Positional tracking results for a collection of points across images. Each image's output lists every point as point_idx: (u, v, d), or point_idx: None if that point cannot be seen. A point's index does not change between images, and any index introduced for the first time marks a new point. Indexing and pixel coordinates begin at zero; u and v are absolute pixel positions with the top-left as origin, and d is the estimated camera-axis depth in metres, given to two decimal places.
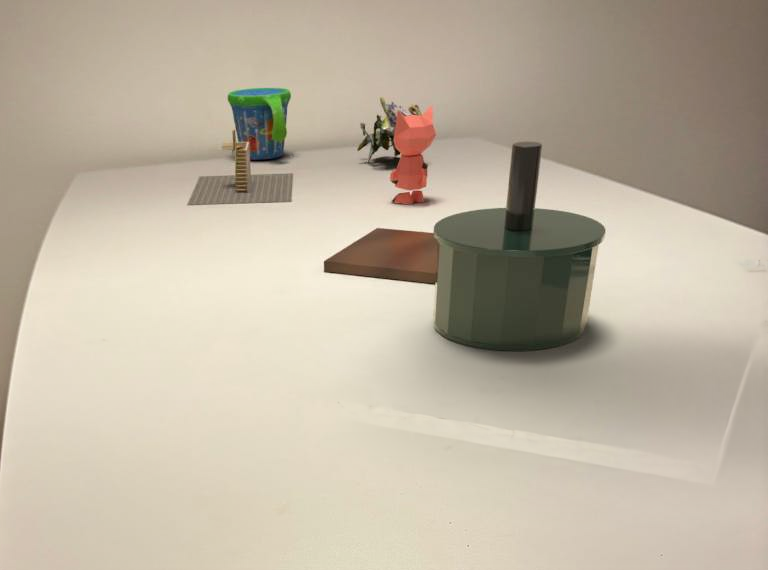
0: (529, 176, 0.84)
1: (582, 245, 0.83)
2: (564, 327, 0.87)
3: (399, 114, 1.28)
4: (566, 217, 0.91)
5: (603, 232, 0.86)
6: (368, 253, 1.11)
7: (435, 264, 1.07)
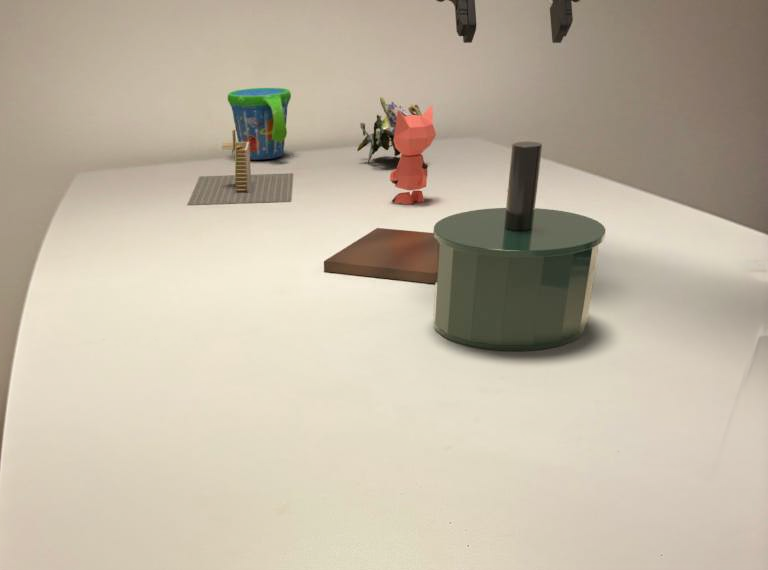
0: (529, 176, 0.84)
1: (582, 245, 0.83)
2: (564, 327, 0.87)
3: (399, 114, 1.28)
4: (566, 217, 0.91)
5: (603, 232, 0.86)
6: (368, 253, 1.11)
7: (435, 264, 1.07)
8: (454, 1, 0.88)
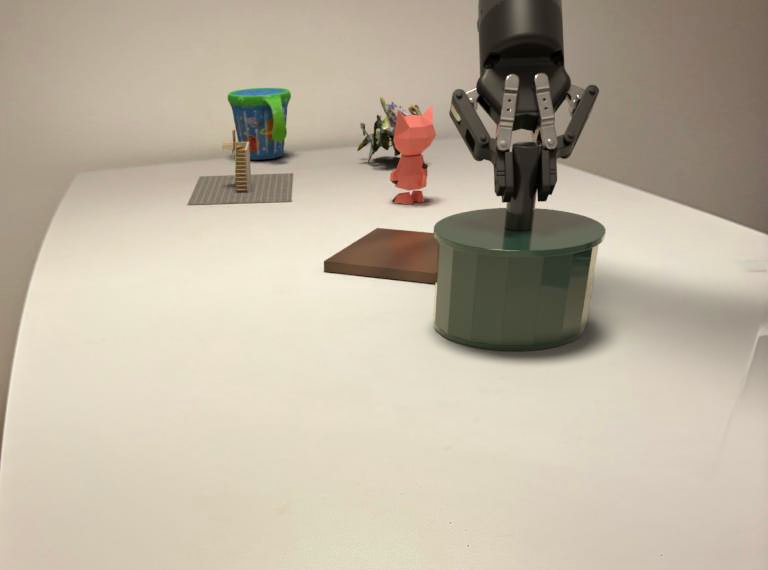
0: (529, 176, 0.84)
1: (582, 245, 0.83)
2: (564, 327, 0.87)
3: (399, 114, 1.28)
4: (566, 217, 0.91)
5: (603, 232, 0.86)
6: (368, 253, 1.11)
7: (435, 264, 1.07)
8: (493, 161, 0.86)
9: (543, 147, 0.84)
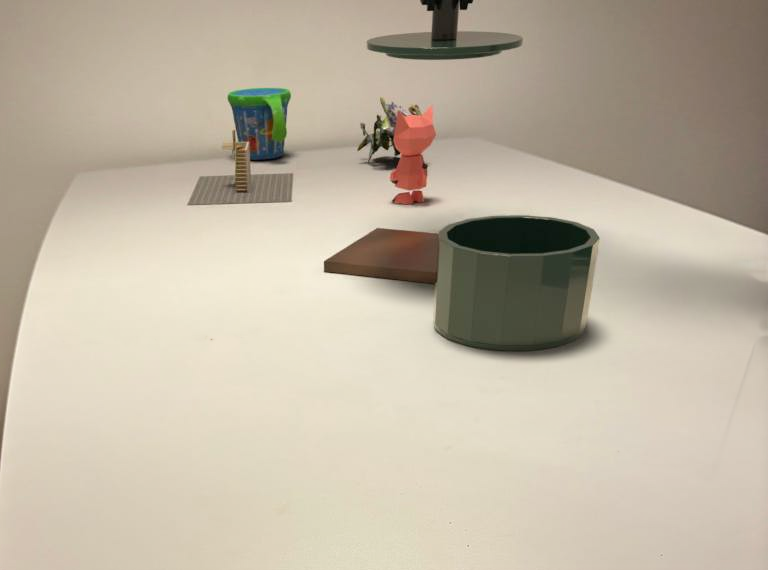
0: None
1: (498, 45, 0.91)
2: (564, 327, 0.87)
3: (399, 114, 1.28)
4: (490, 34, 0.98)
5: (520, 39, 0.93)
6: (368, 253, 1.11)
7: (435, 264, 1.07)
8: None
9: None
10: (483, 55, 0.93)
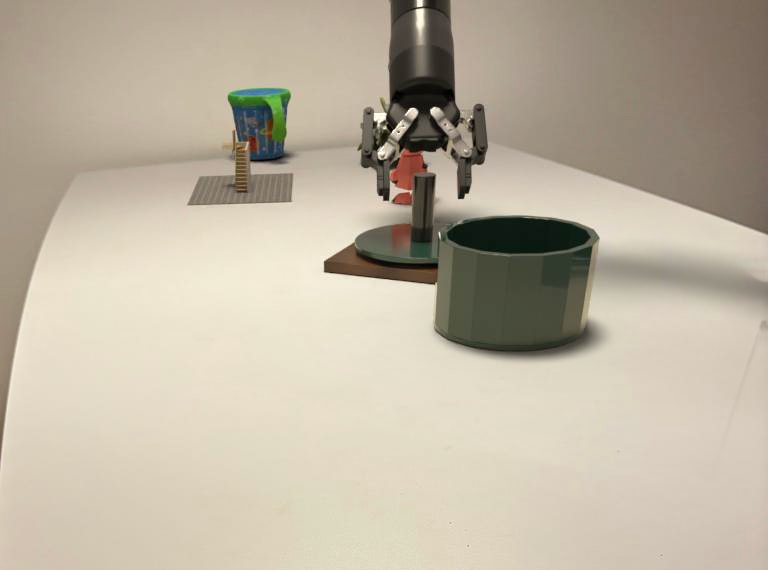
0: (427, 199, 1.07)
1: None
2: (564, 327, 0.87)
3: None
4: None
5: None
6: None
7: (435, 264, 1.07)
8: (375, 168, 1.08)
9: (461, 156, 1.07)
10: None
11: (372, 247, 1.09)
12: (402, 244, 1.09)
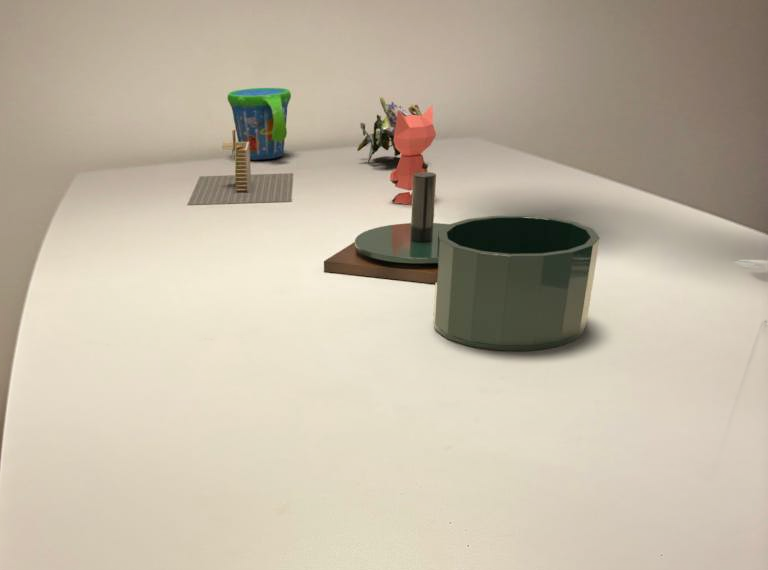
0: (427, 199, 1.07)
1: None
2: (564, 327, 0.87)
3: (399, 114, 1.28)
4: None
5: None
6: None
7: (435, 264, 1.07)
8: None
9: None
10: None
11: (372, 247, 1.09)
12: (402, 244, 1.09)
